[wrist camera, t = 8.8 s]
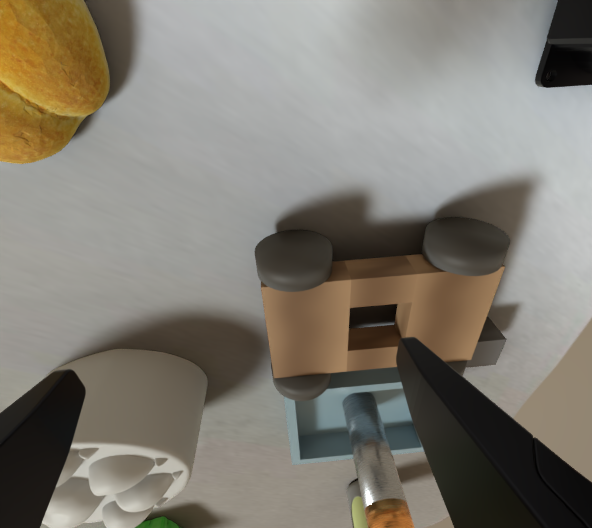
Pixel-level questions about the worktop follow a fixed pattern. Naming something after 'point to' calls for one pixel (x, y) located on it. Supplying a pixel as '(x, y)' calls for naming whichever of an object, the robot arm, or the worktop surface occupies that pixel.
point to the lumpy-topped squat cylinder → (129, 438)
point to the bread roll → (47, 75)
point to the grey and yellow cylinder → (356, 506)
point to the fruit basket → (158, 523)
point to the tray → (331, 420)
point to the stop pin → (375, 464)
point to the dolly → (378, 303)
